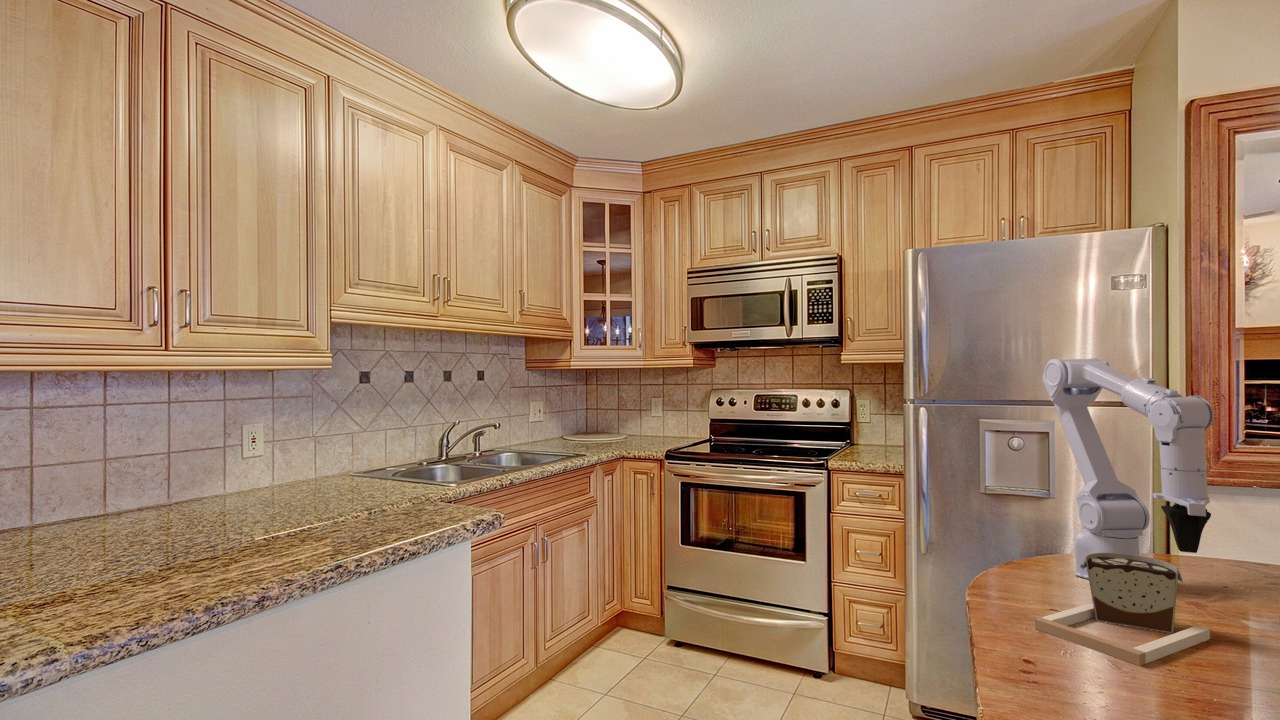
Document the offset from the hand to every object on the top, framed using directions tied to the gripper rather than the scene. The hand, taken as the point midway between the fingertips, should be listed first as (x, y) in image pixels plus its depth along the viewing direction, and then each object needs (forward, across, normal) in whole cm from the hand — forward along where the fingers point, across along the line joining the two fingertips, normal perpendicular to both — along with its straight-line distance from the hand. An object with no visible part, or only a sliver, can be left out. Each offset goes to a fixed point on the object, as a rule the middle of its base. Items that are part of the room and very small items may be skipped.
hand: (1187, 551), depth 101 cm
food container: (+10, +9, -9) cm, 16 cm away
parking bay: (+10, +16, -11) cm, 22 cm away
